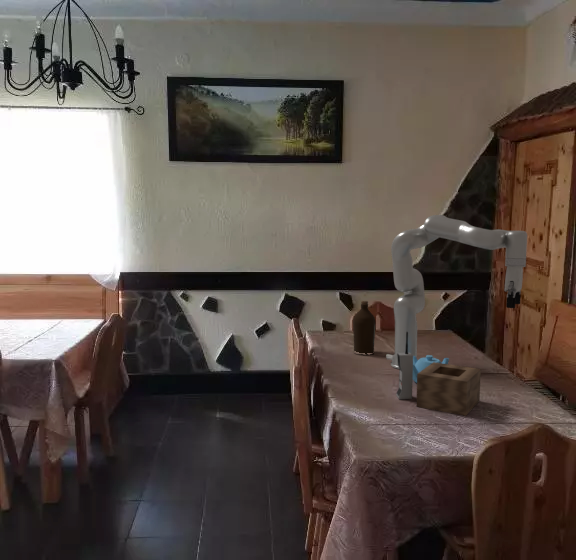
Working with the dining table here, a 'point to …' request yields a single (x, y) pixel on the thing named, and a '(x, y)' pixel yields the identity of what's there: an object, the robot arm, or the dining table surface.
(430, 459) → the dining table surface
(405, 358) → the vintage mobile phone
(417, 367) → the teapot
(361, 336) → the olive oil
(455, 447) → the dining table surface
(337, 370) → the dining table surface
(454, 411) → the well block
